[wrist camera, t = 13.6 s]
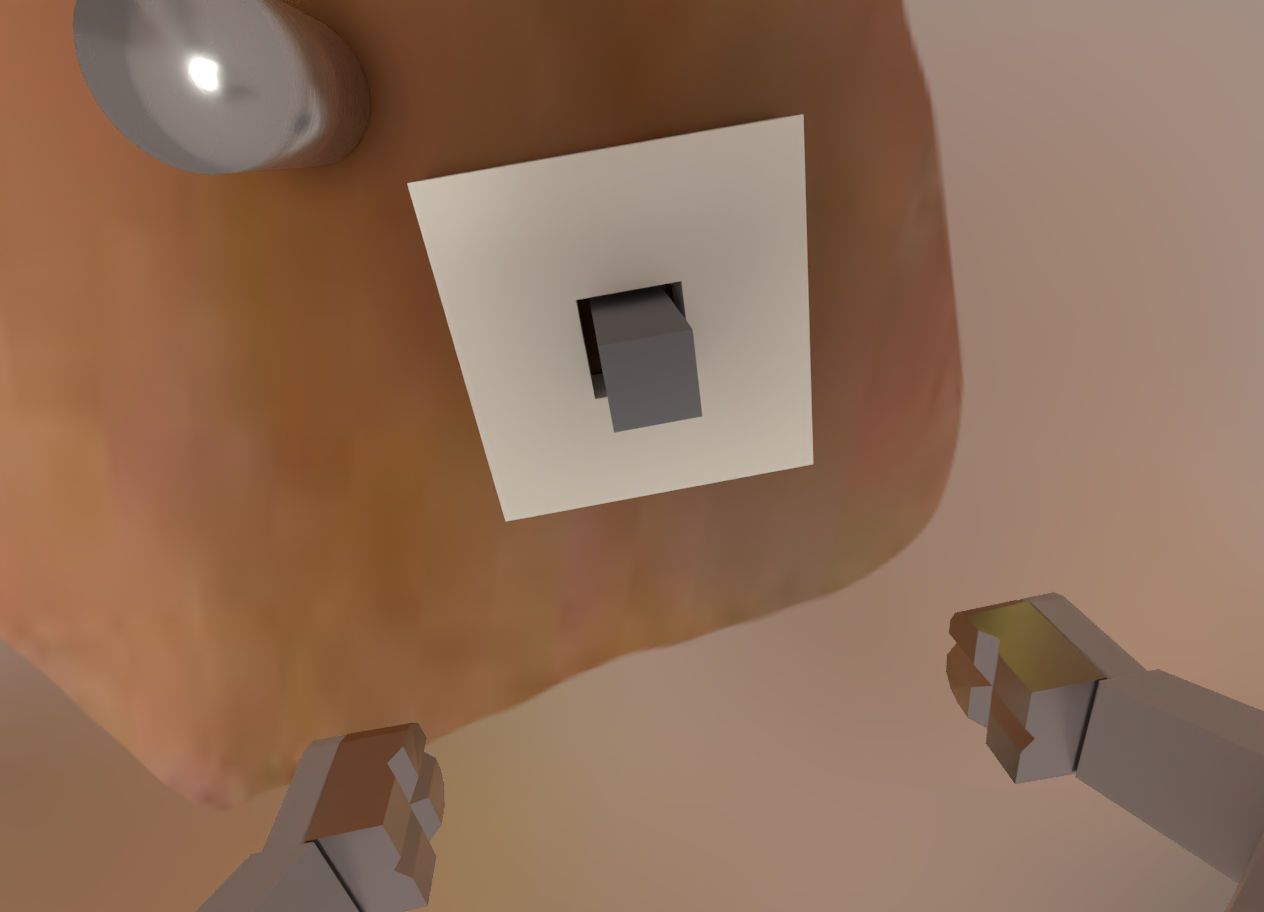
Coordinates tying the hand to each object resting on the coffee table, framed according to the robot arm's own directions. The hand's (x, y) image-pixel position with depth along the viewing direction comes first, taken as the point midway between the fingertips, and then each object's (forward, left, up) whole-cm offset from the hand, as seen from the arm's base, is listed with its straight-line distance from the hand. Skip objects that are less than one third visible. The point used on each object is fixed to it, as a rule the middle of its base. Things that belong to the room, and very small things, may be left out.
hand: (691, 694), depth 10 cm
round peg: (-11, -11, -25) cm, 29 cm away
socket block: (+1, +1, -25) cm, 25 cm away
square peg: (+1, +1, -25) cm, 25 cm away
